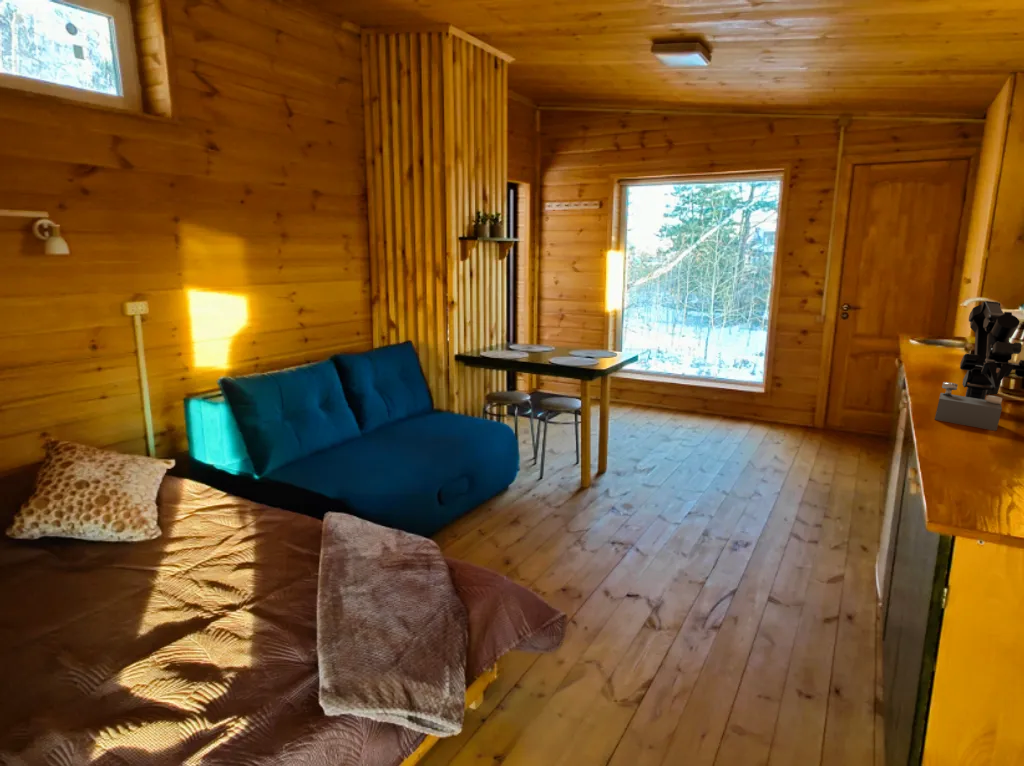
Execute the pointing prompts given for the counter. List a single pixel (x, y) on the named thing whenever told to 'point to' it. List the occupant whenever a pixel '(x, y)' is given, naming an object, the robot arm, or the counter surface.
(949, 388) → the grey knob
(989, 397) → the cream knob
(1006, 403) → the counter surface
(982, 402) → the console
